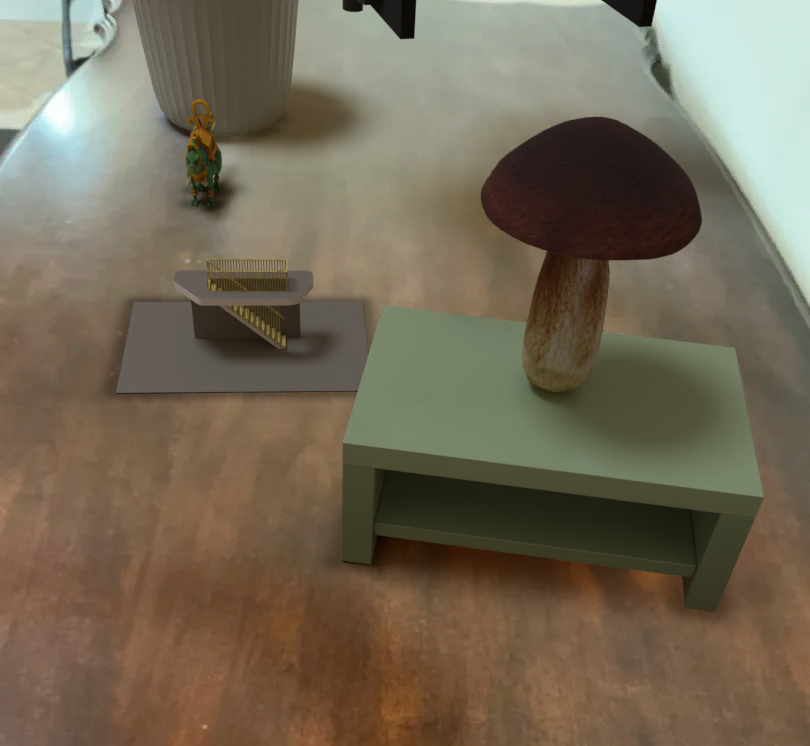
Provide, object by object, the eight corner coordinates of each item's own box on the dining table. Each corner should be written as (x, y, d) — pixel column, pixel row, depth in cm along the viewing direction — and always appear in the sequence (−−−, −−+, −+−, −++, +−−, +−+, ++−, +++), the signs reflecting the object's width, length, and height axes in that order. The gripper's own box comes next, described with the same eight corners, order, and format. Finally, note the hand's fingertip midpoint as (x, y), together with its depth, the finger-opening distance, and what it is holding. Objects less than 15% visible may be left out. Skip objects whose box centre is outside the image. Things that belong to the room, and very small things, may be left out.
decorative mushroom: (492, 316, 61) (526, 64, 50) (666, 360, 58) (739, 104, 48) (432, 413, 53) (456, 140, 43) (627, 468, 51) (705, 192, 40)
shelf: (696, 459, 66) (735, 347, 60) (715, 612, 56) (764, 497, 50) (377, 419, 67) (382, 304, 61) (340, 561, 57) (342, 442, 51)
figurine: (179, 219, 86) (169, 127, 81) (201, 162, 95) (192, 75, 89) (214, 221, 86) (206, 129, 81) (232, 164, 95) (226, 77, 89)
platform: (372, 390, 70) (375, 310, 65) (115, 392, 68) (100, 310, 63) (362, 302, 78) (364, 225, 74) (133, 302, 76) (121, 223, 72)
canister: (275, 165, 95) (265, -84, 81) (105, 136, 98) (66, -111, 83) (332, 101, 108) (333, -125, 93) (181, 76, 111) (158, -147, 96)
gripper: (572, -36, 70) (724, 67, 56) (228, -25, 64) (299, 94, 50) (591, -163, 65) (764, -84, 51) (218, -164, 59) (295, -75, 45)
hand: (534, 4), depth 50 cm, fingers open, 13 cm apart
